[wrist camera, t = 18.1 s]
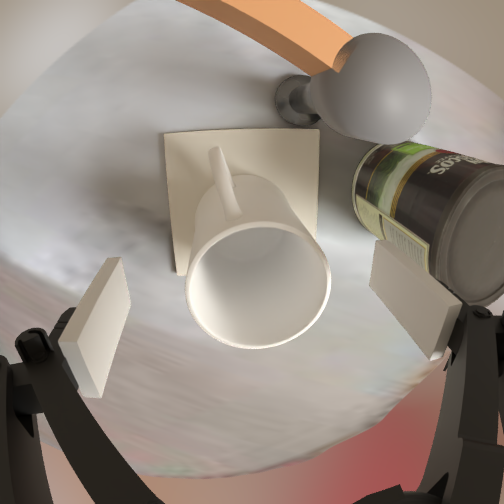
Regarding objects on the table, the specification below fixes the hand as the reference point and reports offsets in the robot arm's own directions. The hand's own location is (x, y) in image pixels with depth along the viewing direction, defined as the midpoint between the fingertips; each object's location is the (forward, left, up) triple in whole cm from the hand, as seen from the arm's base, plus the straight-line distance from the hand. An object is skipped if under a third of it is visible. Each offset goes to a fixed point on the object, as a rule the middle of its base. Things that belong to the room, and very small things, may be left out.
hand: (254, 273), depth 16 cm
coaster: (0, 0, -13) cm, 13 cm away
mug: (0, 0, -13) cm, 13 cm away
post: (+5, +9, -13) cm, 17 cm away
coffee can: (+15, +1, -14) cm, 21 cm away
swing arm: (+1, +12, -2) cm, 12 cm away
